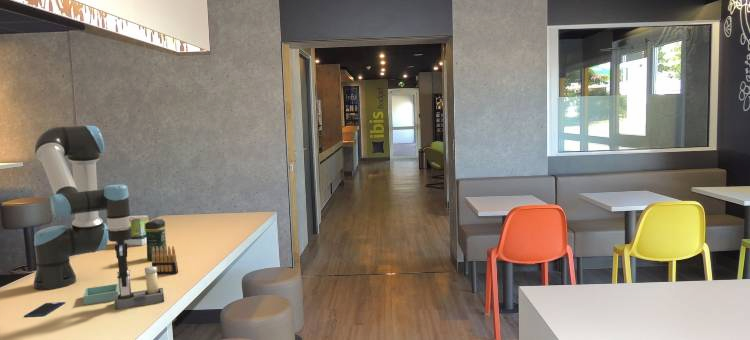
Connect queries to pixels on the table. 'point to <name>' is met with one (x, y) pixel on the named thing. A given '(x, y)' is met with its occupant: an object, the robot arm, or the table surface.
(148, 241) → the coffee jar
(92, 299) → the parts tray
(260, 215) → the table surface
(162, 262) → the ammunition clip
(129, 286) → the fuse
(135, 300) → the block
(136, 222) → the tea box
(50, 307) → the cell phone
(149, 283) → the white rounded cylinder
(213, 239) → the table surface
